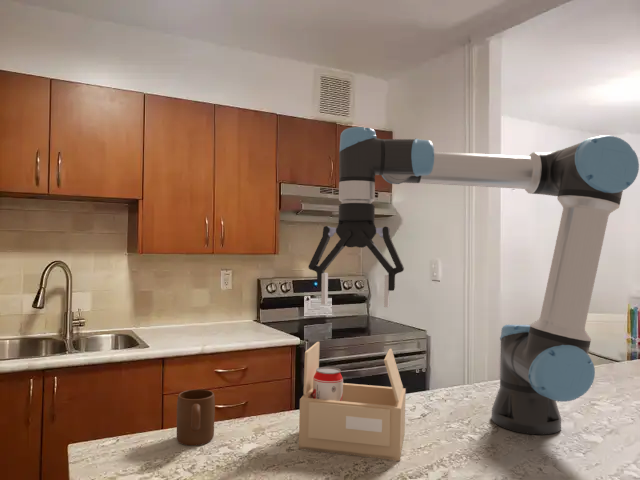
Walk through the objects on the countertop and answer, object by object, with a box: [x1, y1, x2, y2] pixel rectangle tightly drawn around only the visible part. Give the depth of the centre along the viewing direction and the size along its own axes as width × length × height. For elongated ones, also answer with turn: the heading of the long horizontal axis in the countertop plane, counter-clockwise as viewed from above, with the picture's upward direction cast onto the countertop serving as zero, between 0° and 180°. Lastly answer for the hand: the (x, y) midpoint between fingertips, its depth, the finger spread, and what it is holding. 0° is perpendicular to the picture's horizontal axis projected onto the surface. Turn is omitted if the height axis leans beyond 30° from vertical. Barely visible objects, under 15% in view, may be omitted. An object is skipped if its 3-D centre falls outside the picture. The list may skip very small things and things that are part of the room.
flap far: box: [303, 341, 321, 395], centre depth 109 cm, size 8×11×1 cm
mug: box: [176, 388, 216, 447], centre depth 105 cm, size 12×8×9 cm, turn 13°
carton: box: [298, 382, 407, 462], centre depth 107 cm, size 20×15×10 cm
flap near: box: [383, 348, 404, 403], centre depth 106 cm, size 8×11×1 cm
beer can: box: [313, 366, 344, 401], centre depth 107 cm, size 6×6×16 cm
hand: (355, 305), depth 108 cm, fingers open, 12 cm apart
